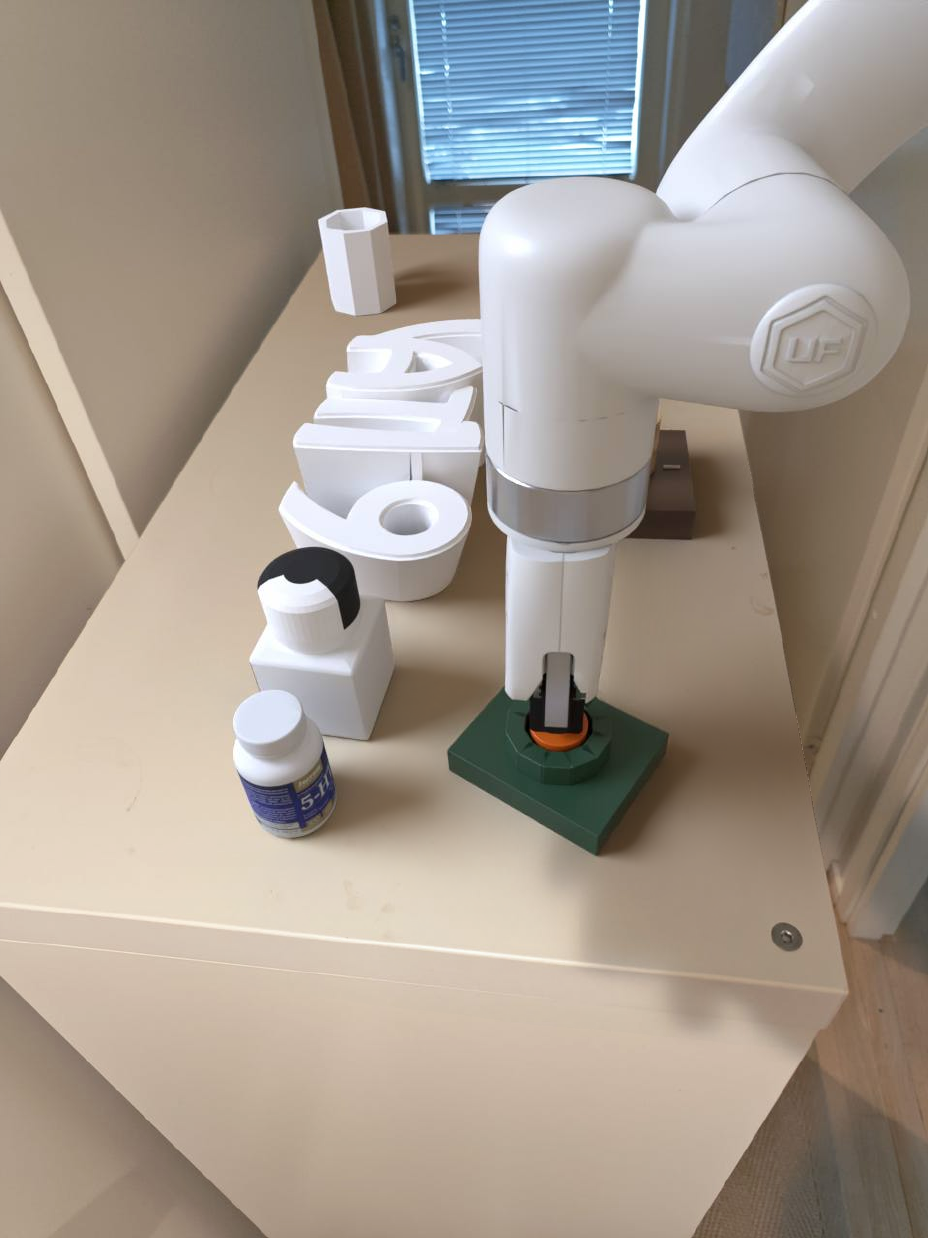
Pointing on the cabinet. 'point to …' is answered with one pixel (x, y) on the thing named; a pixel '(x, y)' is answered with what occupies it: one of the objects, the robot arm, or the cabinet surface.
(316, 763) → the pill bottle
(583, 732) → the button
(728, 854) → the cabinet surface
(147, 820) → the cabinet surface
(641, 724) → the green push button box
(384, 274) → the white octagonal cup
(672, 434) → the hob panel
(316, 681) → the block figurine
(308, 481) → the white lettered block
